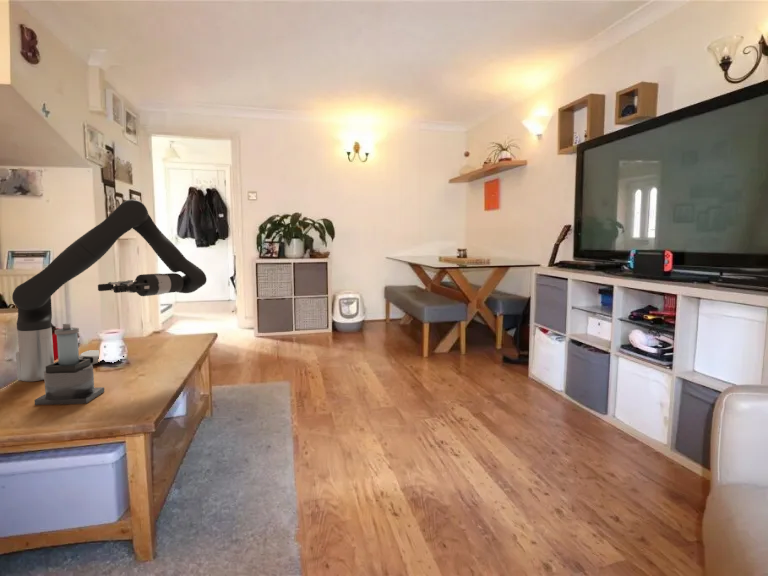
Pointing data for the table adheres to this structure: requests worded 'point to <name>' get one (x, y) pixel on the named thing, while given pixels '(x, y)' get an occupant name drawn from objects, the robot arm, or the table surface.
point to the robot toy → (90, 356)
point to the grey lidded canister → (67, 345)
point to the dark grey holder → (69, 384)
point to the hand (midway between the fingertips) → (106, 288)
